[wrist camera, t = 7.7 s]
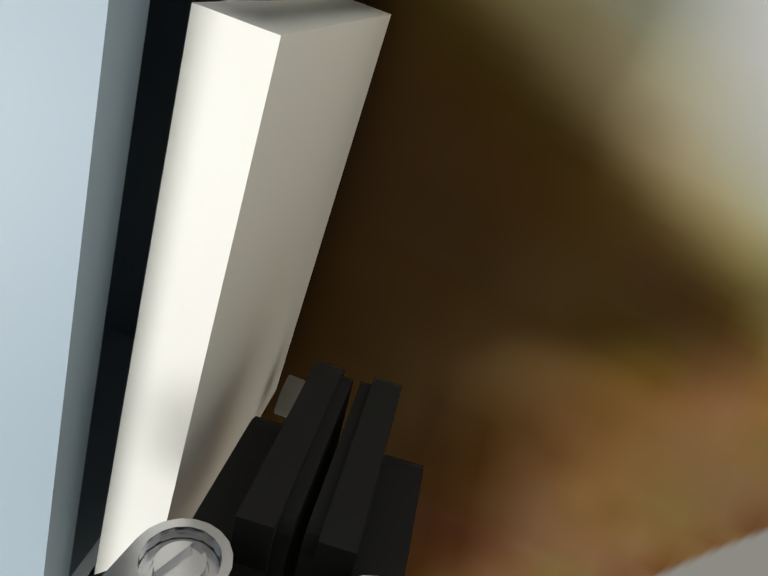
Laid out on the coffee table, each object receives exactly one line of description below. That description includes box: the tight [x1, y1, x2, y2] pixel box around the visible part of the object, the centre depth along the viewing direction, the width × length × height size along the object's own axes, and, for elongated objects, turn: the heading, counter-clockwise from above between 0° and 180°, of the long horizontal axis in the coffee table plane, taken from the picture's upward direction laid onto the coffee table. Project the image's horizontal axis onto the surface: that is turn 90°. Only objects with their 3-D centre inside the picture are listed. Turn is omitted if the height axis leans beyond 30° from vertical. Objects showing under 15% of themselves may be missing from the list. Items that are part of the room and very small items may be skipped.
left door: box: [94, 0, 391, 575], centre depth 12 cm, size 11×2×8 cm, turn 162°
